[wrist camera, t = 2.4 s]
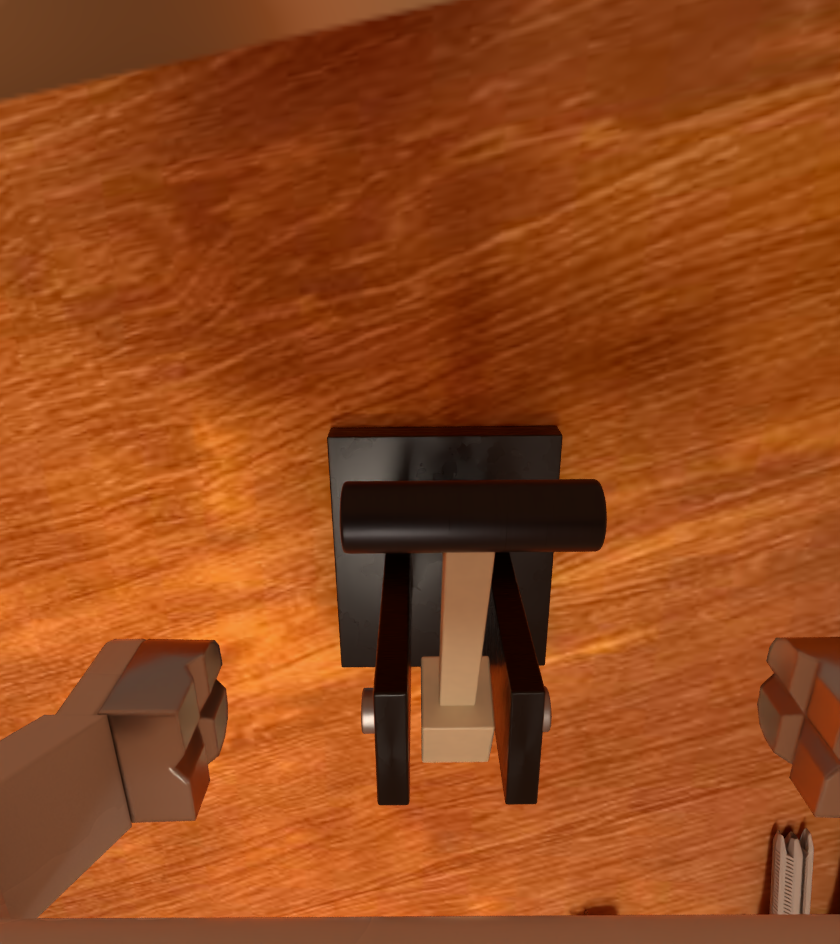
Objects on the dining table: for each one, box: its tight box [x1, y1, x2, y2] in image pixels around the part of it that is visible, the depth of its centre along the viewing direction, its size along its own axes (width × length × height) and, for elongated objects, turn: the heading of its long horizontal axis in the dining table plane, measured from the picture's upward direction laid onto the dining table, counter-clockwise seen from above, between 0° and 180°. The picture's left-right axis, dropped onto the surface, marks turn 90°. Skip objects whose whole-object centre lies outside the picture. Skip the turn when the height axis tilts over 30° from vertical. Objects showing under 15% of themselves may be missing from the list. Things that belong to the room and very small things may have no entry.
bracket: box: [327, 426, 562, 805], centre depth 26 cm, size 12×10×13 cm
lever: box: [340, 479, 607, 762], centre depth 19 cm, size 12×6×2 cm, turn 0°
